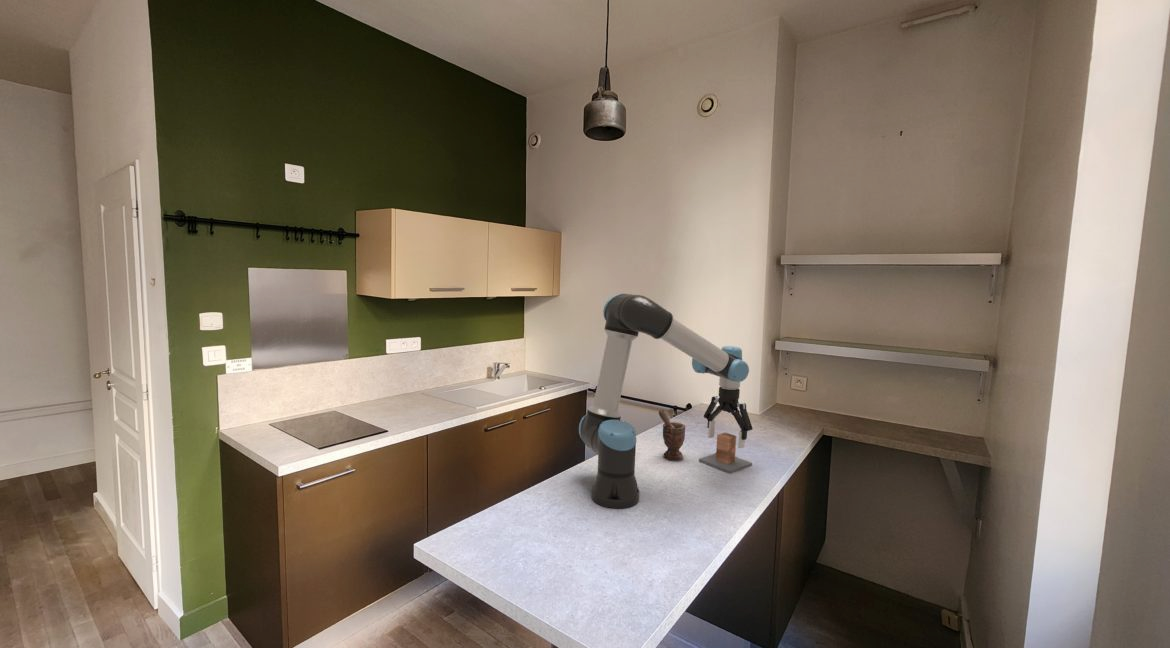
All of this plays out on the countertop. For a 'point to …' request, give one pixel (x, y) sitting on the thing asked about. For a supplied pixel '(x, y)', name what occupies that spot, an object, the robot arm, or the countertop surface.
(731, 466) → the slate card
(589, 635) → the countertop surface
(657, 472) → the countertop surface
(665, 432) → the mortar and pestle
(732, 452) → the terracotta block
